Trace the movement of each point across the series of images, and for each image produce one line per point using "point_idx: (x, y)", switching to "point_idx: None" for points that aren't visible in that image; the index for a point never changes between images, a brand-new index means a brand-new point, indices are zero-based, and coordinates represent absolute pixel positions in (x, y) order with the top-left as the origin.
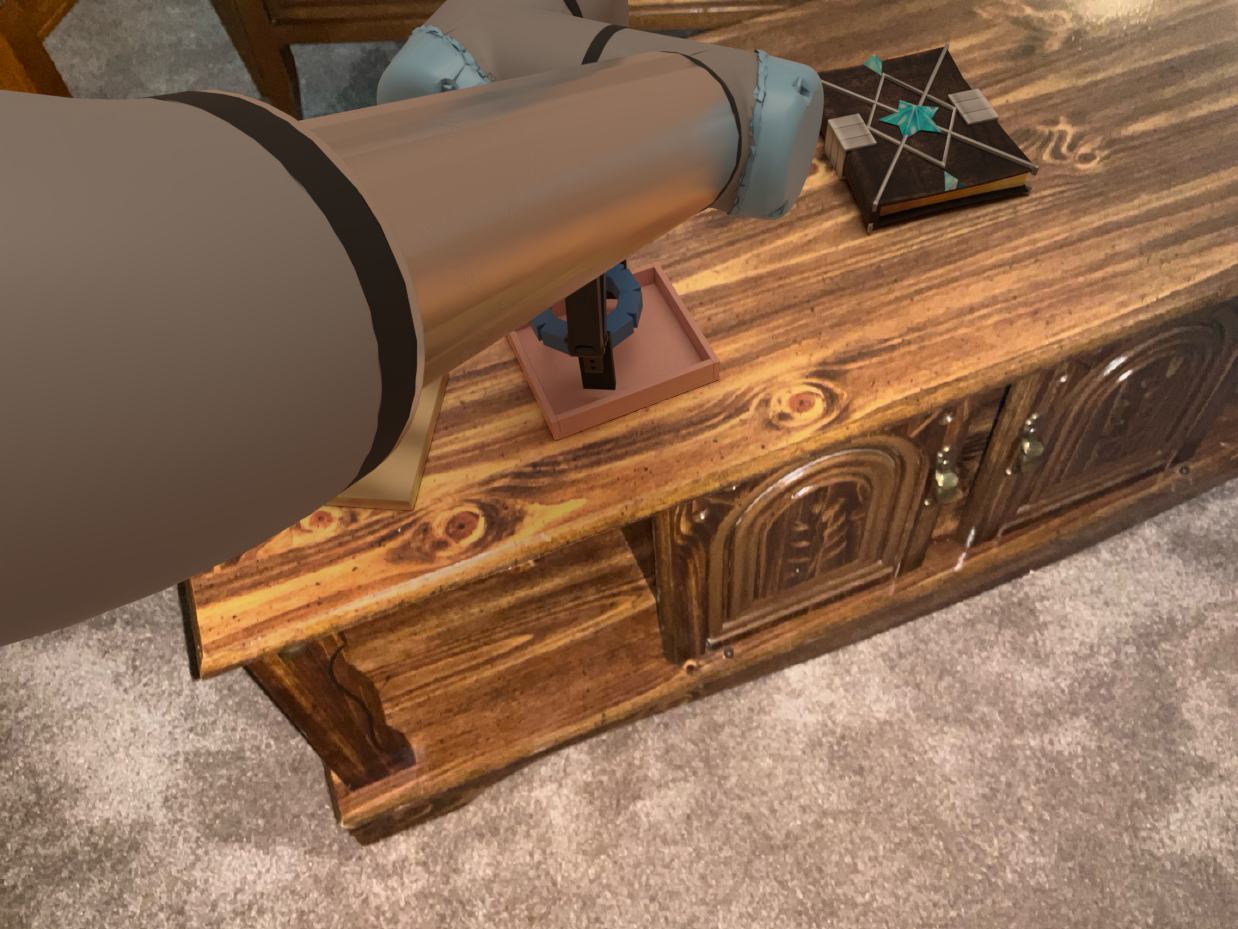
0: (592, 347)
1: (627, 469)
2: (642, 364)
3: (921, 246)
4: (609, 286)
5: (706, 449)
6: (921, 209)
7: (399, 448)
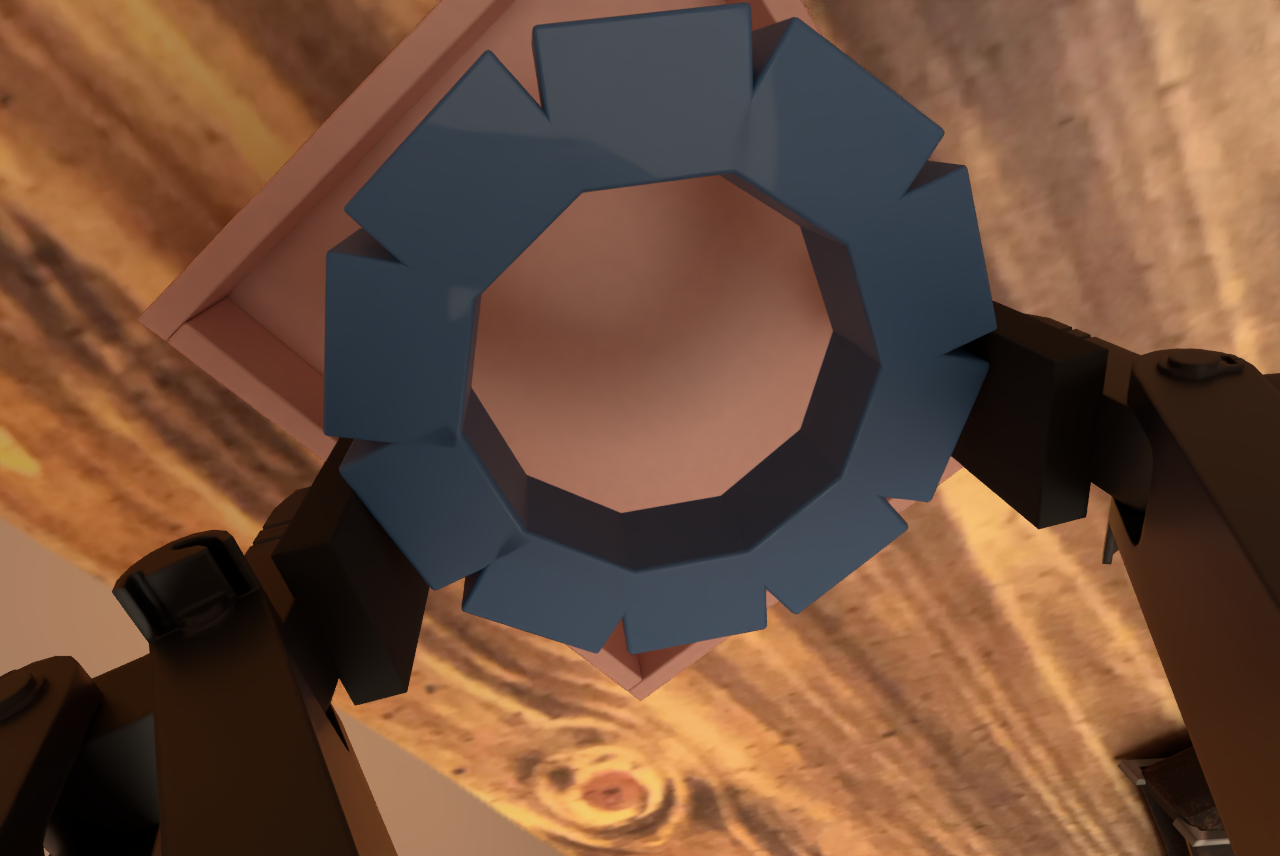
0: (51, 852)
1: None
2: (614, 461)
3: (1072, 834)
4: (814, 433)
5: None
6: (1173, 835)
7: None
